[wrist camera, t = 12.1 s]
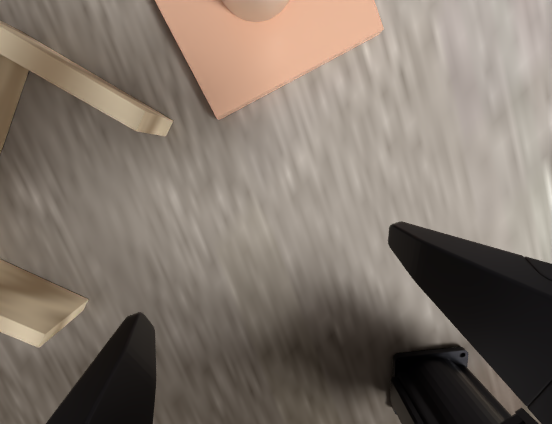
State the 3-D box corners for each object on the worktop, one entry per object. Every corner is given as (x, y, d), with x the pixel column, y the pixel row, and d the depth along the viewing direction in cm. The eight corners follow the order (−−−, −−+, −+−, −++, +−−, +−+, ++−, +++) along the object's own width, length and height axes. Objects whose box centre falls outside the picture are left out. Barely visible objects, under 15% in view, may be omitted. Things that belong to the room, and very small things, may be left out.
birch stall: (173, 120, 17) (145, 111, 13) (83, 310, 20) (38, 347, 16) (20, 30, 16) (-63, -11, 12) (-52, 250, 19) (-136, 275, 15)
